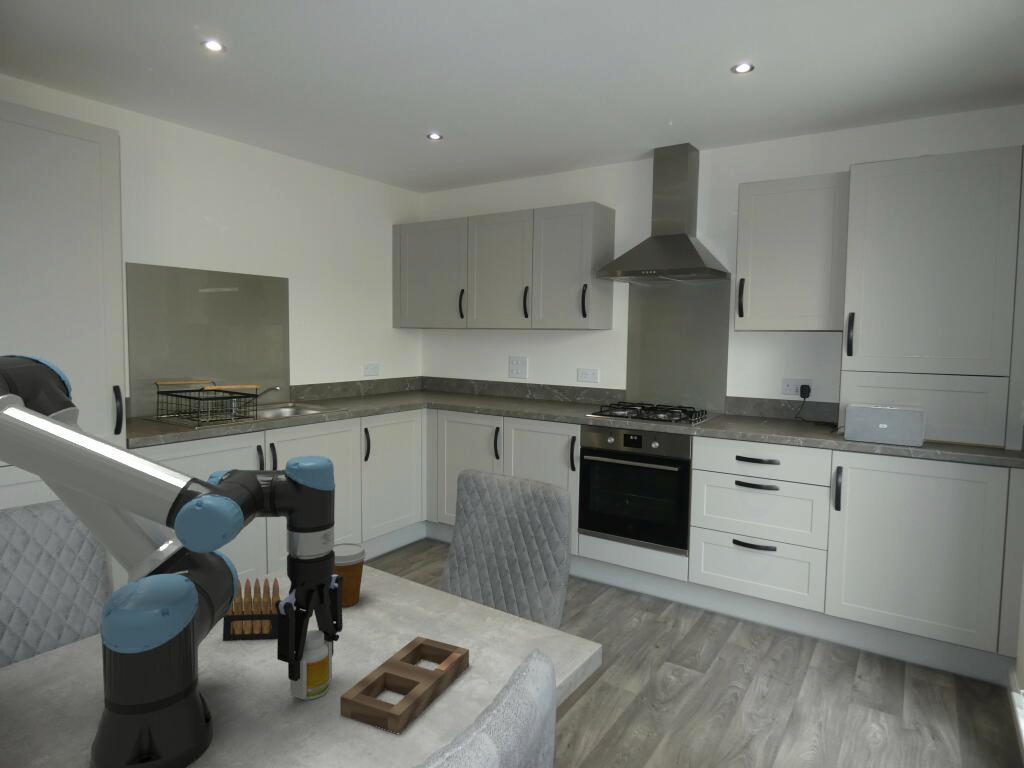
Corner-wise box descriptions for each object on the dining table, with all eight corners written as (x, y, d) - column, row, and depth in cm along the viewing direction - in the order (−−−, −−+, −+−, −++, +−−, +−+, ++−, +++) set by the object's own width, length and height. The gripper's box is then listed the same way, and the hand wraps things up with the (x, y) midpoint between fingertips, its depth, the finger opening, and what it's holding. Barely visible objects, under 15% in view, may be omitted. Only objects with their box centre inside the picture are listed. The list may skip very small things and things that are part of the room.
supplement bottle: (334, 685, 107) (334, 630, 106) (316, 703, 102) (316, 645, 101) (307, 680, 108) (306, 625, 108) (288, 697, 103) (287, 640, 102)
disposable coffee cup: (375, 599, 141) (375, 547, 140) (342, 615, 133) (342, 560, 132) (345, 589, 146) (345, 539, 145) (312, 604, 138) (312, 550, 137)
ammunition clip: (282, 634, 124) (281, 575, 123) (280, 639, 122) (279, 579, 121) (225, 636, 123) (224, 577, 122) (222, 641, 121) (221, 580, 120)
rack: (398, 734, 94) (398, 714, 94) (340, 714, 99) (340, 695, 99) (468, 665, 114) (469, 648, 114) (417, 651, 119) (417, 635, 118)
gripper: (286, 574, 93) (288, 723, 95) (364, 538, 110) (364, 665, 112) (249, 565, 96) (251, 710, 98) (331, 532, 113) (331, 656, 115)
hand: (311, 686), depth 105 cm, fingers closed on supplement bottle, 5 cm apart
